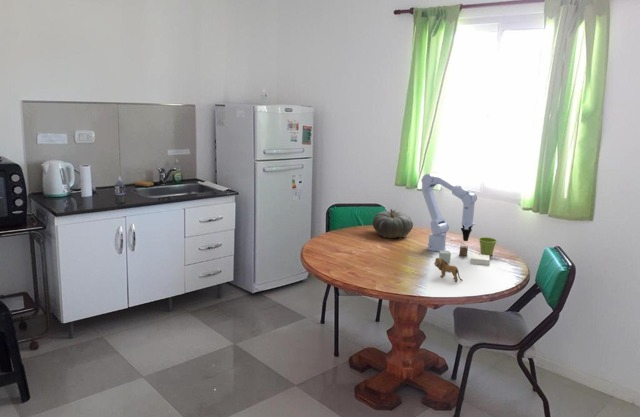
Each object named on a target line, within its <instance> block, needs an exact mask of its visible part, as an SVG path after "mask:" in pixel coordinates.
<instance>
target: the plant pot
mask: <svg viewBox="0 0 640 417" xmlns="http://www.w3.org/2000/svg"><path fill="white" fill-rule="evenodd" d="M478 240H479V246H480V254H481V255H489V257H491V256H493V253H494V249H495V245H496V244H497V241H498V240H497V239H496V238H493V237H487V236H486V237H479V238H478Z"/></svg>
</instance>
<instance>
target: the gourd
mask: <svg viewBox="0 0 640 417" xmlns="http://www.w3.org/2000/svg"><path fill="white" fill-rule="evenodd" d="M413 227H414V223H413V221H412V218H411V217H410V216H409V215H408V214H407V213H405V212H403V211H401V210H397V209H393V208H391V209H390V210H385V211H384V210H383V211H380V212H378V213H376V214H375V216H374V218H373V220H372V228H373V229H374V230H375V231H376V233H377V234H378V235H379V236H381V237H383V238H386V237H387V238H386V239H396V238H398V237H399V238H400V239H402V237H403V238H405V237H407V236H408V234H409V233H410V232H411V231H412V230H413V229H414V228H413Z"/></svg>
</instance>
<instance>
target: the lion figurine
mask: <svg viewBox="0 0 640 417" xmlns="http://www.w3.org/2000/svg"><path fill="white" fill-rule="evenodd" d="M433 264H434V266H435V267H436V268H437V269H438V271H440V273H441V275H440V278H444V276H446V273H451V274H452V276H453V279H454V282H456V283H457V282H458V281H459V280H460V281H462V282H463V281H464V280H463V279H462V278H461V276H460V272H459V269H458V267H457V266H456V265H450V264H448V263H447V262H446V261H444V260H443V259H442V258H439V257H436V258H435V261H434V263H433ZM458 279H459V280H458Z"/></svg>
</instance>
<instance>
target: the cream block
mask: <svg viewBox="0 0 640 417" xmlns="http://www.w3.org/2000/svg"><path fill="white" fill-rule="evenodd" d="M470 258H471V260H470V264H476V265H487V266H490V256H489V255H481V253H480V254H478V253H471V256H470Z"/></svg>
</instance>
